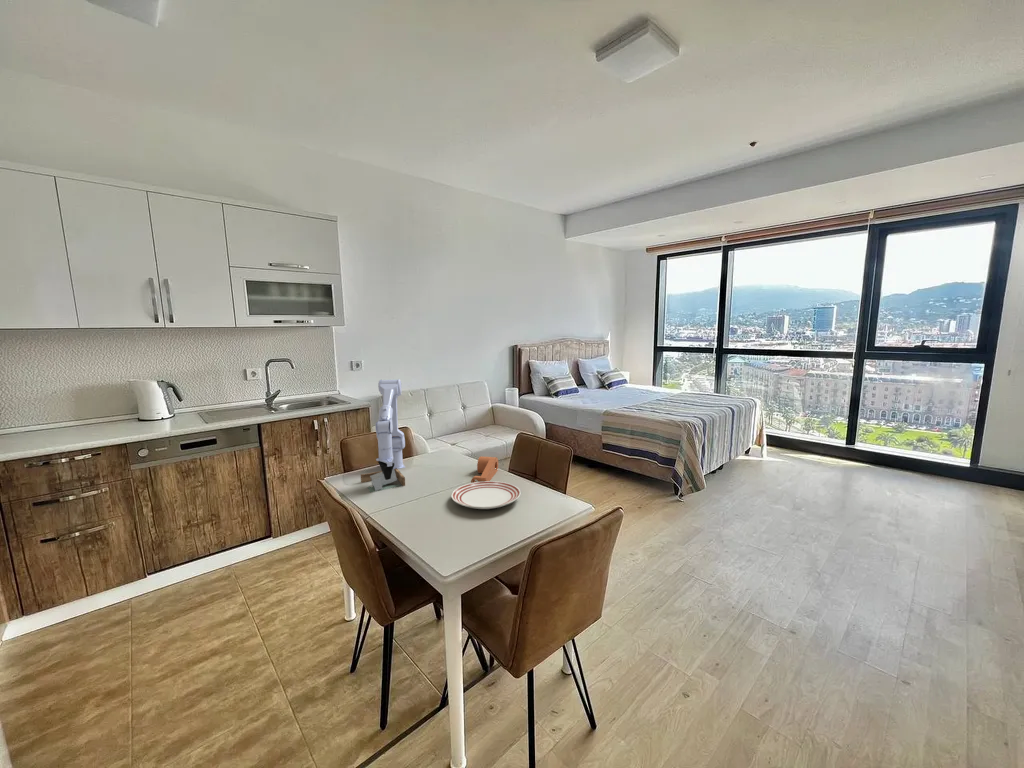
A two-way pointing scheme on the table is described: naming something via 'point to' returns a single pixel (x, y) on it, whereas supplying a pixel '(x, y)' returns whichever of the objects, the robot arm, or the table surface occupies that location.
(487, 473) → the crank
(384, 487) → the pad
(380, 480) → the bracket
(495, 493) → the dinner plate
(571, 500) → the table surface
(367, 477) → the brown wooden l-shaped piece
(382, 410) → the robot arm
